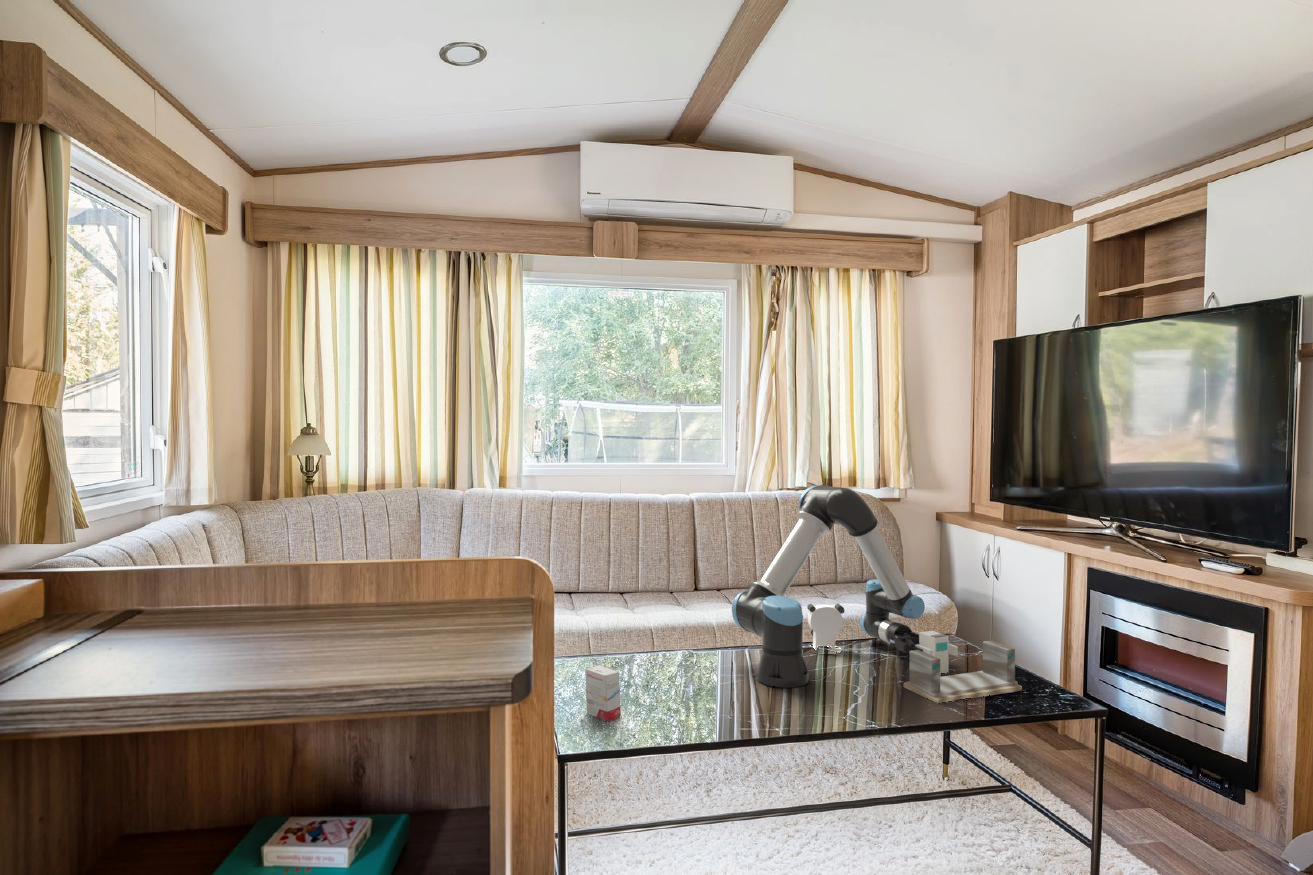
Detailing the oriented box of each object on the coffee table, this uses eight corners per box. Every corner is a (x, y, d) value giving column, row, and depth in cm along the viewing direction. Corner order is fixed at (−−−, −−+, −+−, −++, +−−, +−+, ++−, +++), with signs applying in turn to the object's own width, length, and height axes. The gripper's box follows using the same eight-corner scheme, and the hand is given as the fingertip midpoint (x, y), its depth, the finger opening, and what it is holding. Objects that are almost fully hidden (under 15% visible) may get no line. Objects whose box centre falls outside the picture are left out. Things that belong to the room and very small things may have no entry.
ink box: (621, 717, 194) (621, 671, 194) (606, 722, 191) (606, 676, 191) (599, 708, 201) (599, 664, 200) (584, 713, 197) (584, 668, 197)
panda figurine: (838, 644, 258) (838, 600, 258) (848, 654, 246) (848, 608, 246) (803, 645, 257) (803, 601, 257) (812, 655, 246) (811, 609, 246)
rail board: (937, 703, 202) (937, 662, 202) (903, 686, 216) (903, 648, 215) (1021, 690, 212) (1021, 651, 212) (984, 674, 225) (984, 638, 225)
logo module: (935, 674, 226) (935, 637, 226) (919, 667, 233) (919, 631, 232) (948, 673, 228) (948, 635, 227) (932, 666, 234) (932, 629, 234)
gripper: (922, 641, 251) (972, 661, 229) (868, 648, 243) (914, 669, 222) (922, 619, 251) (972, 637, 229) (868, 625, 243) (914, 644, 222)
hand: (944, 653), depth 226 cm, fingers open, 9 cm apart
